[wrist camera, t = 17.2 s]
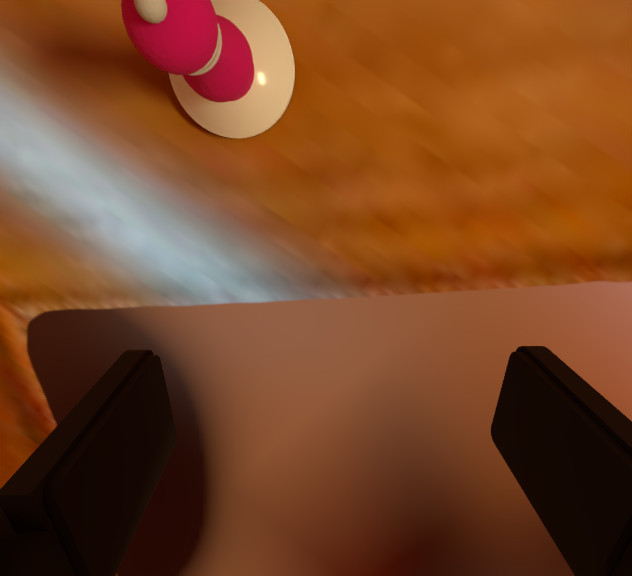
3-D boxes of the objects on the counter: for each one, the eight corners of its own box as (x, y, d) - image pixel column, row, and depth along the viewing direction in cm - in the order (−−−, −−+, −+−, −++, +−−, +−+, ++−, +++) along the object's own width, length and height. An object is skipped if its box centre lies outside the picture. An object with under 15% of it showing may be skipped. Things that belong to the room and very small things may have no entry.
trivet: (203, 153, 42) (200, 154, 41) (149, 22, 37) (143, 17, 36) (310, 116, 41) (310, 115, 39) (270, -26, 36) (268, -33, 34)
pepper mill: (219, 119, 39) (139, 98, 21) (179, 56, 37) (48, -31, 19) (271, 82, 38) (234, 26, 20) (233, 14, 36) (149, -124, 17)
